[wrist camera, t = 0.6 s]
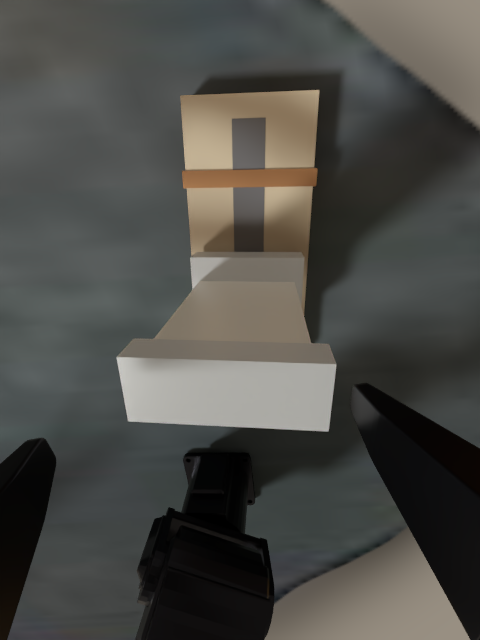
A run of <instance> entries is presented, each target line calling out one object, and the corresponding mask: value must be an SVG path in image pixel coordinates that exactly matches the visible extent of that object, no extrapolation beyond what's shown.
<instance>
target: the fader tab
mask: <svg viewBox="0 0 480 640" xmlns="http://www.w3.org/2000/svg"><path fill="white" fill-rule="evenodd" d="M190 261H191V275H192V289H193V290H192V291H191V293H190V294H189V295H188V296H187V298H186V299H185V300H184V301H183V303H182V304H181V305H180V306H179V308H178V309H177V310H176V311H175V313H174V314H173V315H172V317H171V318H170V319H169V320H168V322H167V323H166V324H165V325H164V327H163V328H162V329H161V330H160V332H159V333H158V334H157V336H156V337H155V338H154V339H133V340H132V341H131V342H130V343H129V344H128V345H127V346H126V347H125V348H124V350H123V351H122V352H121V353H120V354H119V355H118V356H117V362H118V368H119V373H120V379H121V384H122V390H123V395H124V401H125V406H126V412H127V417H128V421H131V422H150V423H170V424H189V425H209V426H228V427H248V428H267V429H287V430H306V431H326V432H329V424H330V416H331V407H332V399H333V390H334V382H335V373H336V365H337V364H336V362H335V359H334V356H333V354H332V351H331V349H330V346H329V344H314V343H311V340H310V337H309V333H308V329H307V326H306V322H305V318H304V314H303V311H302V307H301V303H302V288H303V272H304V256H303V254H302V252H196V253H195V254H194V255H193V256H191V257H190Z"/></svg>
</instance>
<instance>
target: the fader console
mask: <svg viewBox="0 0 480 640" xmlns="http://www.w3.org/2000/svg"><path fill="white" fill-rule="evenodd" d="M180 98H181V112H182V126H183V140H184V155H185V169H186V171H182V176H183V188H187V197H188V211H189V226H190V240H191V254H192V256H193V255H194V254H195V253H196V252H302V254H303V256H304V272H303V288H302V303H301V307H302V311H303V314H304V308H305V293H306V279H307V264H308V250H309V235H310V220H311V206H312V191H313V187H314V186H316V183H317V170H318V168H314V162H315V147H316V132H317V118H318V103H319V90H305V91H280V92H256V93H232V94H207V95H183V96H180Z"/></svg>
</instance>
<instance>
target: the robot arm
mask: <svg viewBox="0 0 480 640" xmlns="http://www.w3.org/2000/svg"><path fill="white" fill-rule="evenodd" d="M350 408H351V412H352V414H353V417H354V419H355V422H356V424H357V426H358V429H359V431H360V434H361V436H362V438H363V441H364V443H365V445H366V448H367V450H368V453H369V455H370V457H371V459H372V461H373V463H374V465H375V467H376V469H377V471H378V472H379V474H380V476H381V478H382V480H383V481H384V483H385V485H386V487H387V489H388V491H389V492H390V494H391V496H392V498H393V500H394V501H395V503H396V505H397V507H398V509H399V511H400V512H401V514H402V516H403V518H404V520H405V521H406V523H407V525H408V527H409V529H410V531H411V532H412V534H413V536H414V538H415V540H416V541H417V543H418V545H419V547H420V549H421V551H422V552H423V554H424V556H425V558H426V560H427V561H428V563H429V565H430V567H431V569H432V570H433V572H434V574H435V576H436V578H437V580H438V581H439V583H440V585H441V587H442V589H443V590H444V592H445V594H446V596H447V598H448V600H449V601H450V603H451V605H452V607H453V609H454V610H455V612H456V614H457V616H458V618H459V620H460V621H461V623H462V625H463V627H464V629H465V631H466V632H467V634H468V636H469V638H470V640H480V448H478V447H476V446H475V445H473V444H471V443H469V442H468V441H466V440H464V439H463V438H461V437H459V436H457V435H456V434H454V433H452V432H451V431H449V430H447V429H445V428H444V427H442V426H440V425H439V424H437V423H435V422H433V421H432V420H430V419H428V418H427V417H425V416H423V415H421V414H420V413H418V412H416V411H415V410H413V409H411V408H409V407H408V406H406V405H404V404H402V403H401V402H399V401H397V400H396V399H394V398H392V397H390V396H389V395H387V394H385V393H384V392H382V391H380V390H378V389H377V388H375V387H373V386H372V385H370V384H368V383H361V384H355V385H354V386H353V387H352V393H351V402H350ZM244 458H246V459H244ZM183 462H184V466H185V471H186V475H187V480H188V485H189V486H188V490H187V494H186V497H185V501H184V504H183V508H182V512H178V511H175V509H173V508H170V507H169V508H168V510H167V513H166V515H165V516H164V515H163V516H162V517H160V518H156V519H155V520H154V522H153V525H152V528H151V531H150V533H149V536H148V539H147V542H146V545H145V548H144V551H143V554H142V557H141V560H140V563H139V566H138V569H137V573H138V576H139V579H140V585H139V589H140V593H139V597H138V601H137V603H140V604H143V605H146V606H145V610H144V613H143V616H142V619H141V623H140V626H139V629H138V632H137V636H136V639H135V640H264V639H265V637H266V635H267V633H268V630H269V627H270V624H271V619H272V614H273V607H274V582H273V575H272V569H271V563H270V556H269V550H268V544H267V540H266V539H263V538H260V539H259V538H256V537H253V536H250V535H247V534H245V525H246V512H247V505H253V504H254V503H255V494H254V485H253V476H252V467H251V459H250V455H249V454H247V453H188V454H185V456H184V459H183ZM55 468H56V457H55V454H54V453H53V451H52V449H51V448H50V446H49V444H48V442H47V441H46V439H44V438H36V439H31V440H27V441H26V442H24V443H23V444H22V445H21V446H20V447H19V448H18V449H16V450H15V451H14V452H13V453H12V454H11V455H10V456H9V457H7V458H6V459H5V460H4V461H3V462H2V463H1V464H0V640H7V638H8V635H9V632H10V629H11V626H12V622H13V619H14V616H15V613H16V610H17V606H18V603H19V600H20V597H21V594H22V591H23V587H24V584H25V581H26V578H27V575H28V572H29V568H30V565H31V562H32V559H33V556H34V552H35V549H36V546H37V543H38V540H39V537H40V533H41V530H42V527H43V523H44V520H45V515H46V511H47V506H48V502H49V497H50V492H51V487H52V482H53V477H54V472H55Z"/></svg>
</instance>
